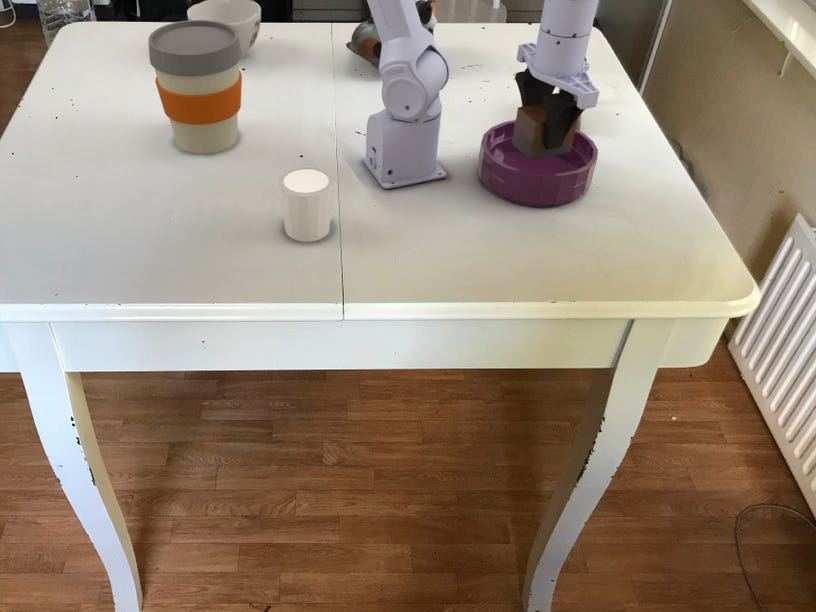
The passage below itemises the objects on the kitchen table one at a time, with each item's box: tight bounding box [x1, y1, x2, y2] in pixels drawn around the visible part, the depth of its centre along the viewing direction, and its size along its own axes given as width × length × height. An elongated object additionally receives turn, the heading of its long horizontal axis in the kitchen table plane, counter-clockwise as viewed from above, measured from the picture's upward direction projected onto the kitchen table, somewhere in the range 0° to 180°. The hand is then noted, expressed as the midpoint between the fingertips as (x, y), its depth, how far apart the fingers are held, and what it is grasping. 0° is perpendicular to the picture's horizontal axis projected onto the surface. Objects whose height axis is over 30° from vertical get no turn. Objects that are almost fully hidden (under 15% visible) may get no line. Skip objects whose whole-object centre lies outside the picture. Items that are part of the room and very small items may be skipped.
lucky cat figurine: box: [345, 0, 438, 70], centre depth 127 cm, size 15×12×14 cm
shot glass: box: [277, 165, 335, 243], centre depth 93 cm, size 7×7×7 cm
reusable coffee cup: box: [148, 19, 243, 155], centre depth 106 cm, size 13×13×15 cm
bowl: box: [476, 119, 599, 208], centre depth 102 cm, size 15×15×5 cm
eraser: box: [512, 103, 578, 160], centre depth 94 cm, size 6×4×5 cm
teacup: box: [186, 0, 262, 60], centre depth 129 cm, size 15×12×8 cm
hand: (542, 138), depth 95 cm, fingers closed on eraser, 4 cm apart
